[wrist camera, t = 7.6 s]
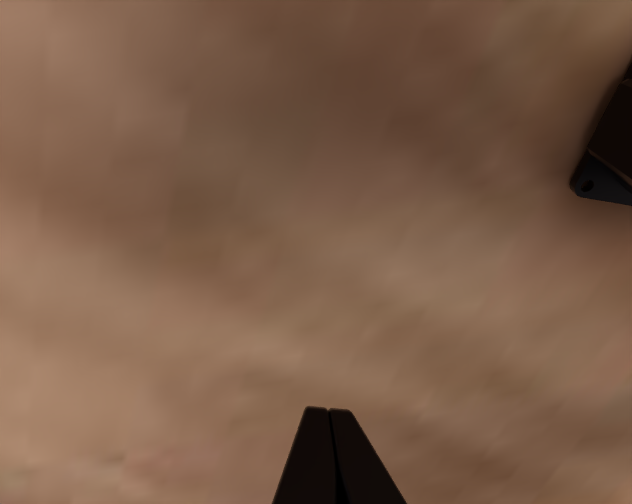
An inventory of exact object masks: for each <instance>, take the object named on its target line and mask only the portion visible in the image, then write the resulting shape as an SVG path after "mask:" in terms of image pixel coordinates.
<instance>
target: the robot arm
mask: <svg viewBox="0 0 632 504" xmlns="http://www.w3.org/2000/svg"><path fill="white" fill-rule="evenodd" d="M588 180H589V181H588ZM585 181H588V184H587V185H586V186H584V187H581V185H582V184H583V183H584V182H585ZM570 189H571V190H572V191H573V192H574V193H575V194H576V195H577V196H580V197H583V198H589V199H595V200H601V201H607V202H613V203H619V204H625V205H631V206H632V64H631V65H630V67H629V69H628V71H627V73H626V75H625V77H624V79H623V81H622V83H621V84H620V85H619V86H618V88H617V90H616V92H615V94H614V96H613V98H612V100H611V102H610V104H609V106H608V108H607V110H606V111H605V113H604V115H603V117H602V119H601V121H600V123H599V125H598V127H597V129H596V131H595V133H594V135H593V137H592V139H591V141H590V142H589V144H588V148H587V150H586V152H585V154H584V156H583V158H582V160H581V162H580V164H579V166H578V168H577V170H576V172H575V174H574V176H573V177H572V179H571V182H570ZM272 504H407V503H406V501H405V499H404V498H403V496H402V494H401V493H400V491H399V489H398V488H397V486H396V484H395V483H394V481H393V480H392V478H391V476H390V475H389V473H388V471H387V470H386V468H385V466H384V465H383V463H382V461H381V460H380V458H379V456H378V455H377V453H376V451H375V450H374V448H373V446H372V445H371V443H370V441H369V440H368V438H367V436H366V435H365V433H364V431H363V430H362V428H361V426H360V425H359V423H358V421H357V420H356V418H355V416H354V415H353V413H352V412H351V411H350V410H347V409H337V408H330V409H329V410H327V409H326V408H324V407H315V406H307V407H306V408H305V410H304V412H303V415H302V418H301V421H300V424H299V427H298V430H297V433H296V435H295V438H294V441H293V444H292V447H291V450H290V453H289V456H288V458H287V461H286V464H285V467H284V470H283V473H282V476H281V479H280V481H279V484H278V487H277V490H276V493H275V496H274V499H273V502H272Z"/></svg>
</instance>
